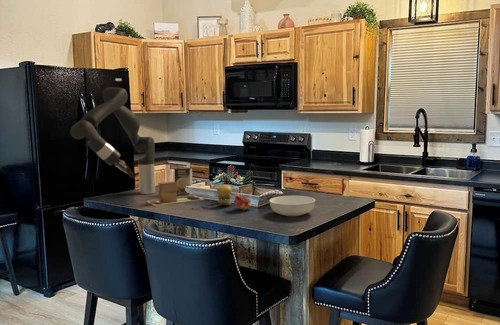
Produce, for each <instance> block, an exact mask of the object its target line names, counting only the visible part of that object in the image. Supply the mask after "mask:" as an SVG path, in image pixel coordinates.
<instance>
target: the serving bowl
mask: <svg viewBox="0 0 500 325" xmlns="http://www.w3.org/2000/svg"><path fill="white" fill-rule="evenodd" d="M315 204H316V199H315V198H313V197H310V196H306V195H281V196H275V197H272V198H270V199H269V205H270V208H271V209H272V211H273V212H274V213H277V214H279V215H281V216H284V217H285V216H286V217H299V216H303V215H305V214H308V213H309V212H312V210H313V209H314V207H315Z"/></svg>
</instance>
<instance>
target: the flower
mask: <svg viewBox="0 0 500 325" xmlns="http://www.w3.org/2000/svg"><path fill="white" fill-rule="evenodd" d="M232 199H233V204H234V205H235V206H236V208H235V210H236V211H238V209H239V210H241V211H246V210H248V208H250V207H252V206H253V204H250V203H251V202H252V201H251V200H250V198H247V196H245V195H244V194H241V193H236V194H234V198H232ZM246 212H247V211H246Z"/></svg>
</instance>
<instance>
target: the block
mask: <svg viewBox="0 0 500 325" xmlns="http://www.w3.org/2000/svg"><path fill="white" fill-rule="evenodd" d="M157 184H158V185H157V186H158V187H157V188H158V199H159V202H160V203H162V204H163V203H171V202H177V197H178V194H177V183H176V182H175V181H174V180H173V181H164V182H158V183H157ZM160 203H159V204H160Z"/></svg>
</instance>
